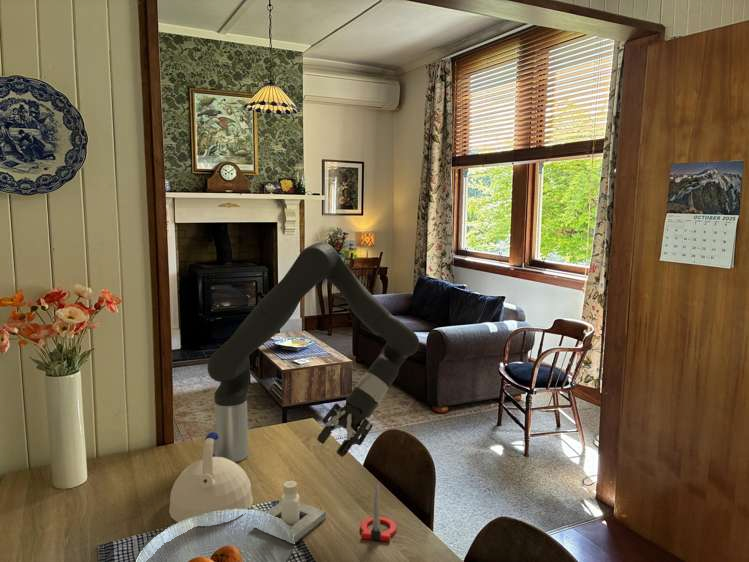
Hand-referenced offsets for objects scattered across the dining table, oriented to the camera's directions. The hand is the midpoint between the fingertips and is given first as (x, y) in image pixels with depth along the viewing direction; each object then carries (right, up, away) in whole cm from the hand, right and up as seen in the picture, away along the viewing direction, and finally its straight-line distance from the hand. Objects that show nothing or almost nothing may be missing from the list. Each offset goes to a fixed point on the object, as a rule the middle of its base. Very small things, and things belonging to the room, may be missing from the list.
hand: (329, 448), depth 140 cm
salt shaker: (-9, -16, -5) cm, 19 cm away
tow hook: (+12, -17, -7) cm, 22 cm away
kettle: (-30, -15, +3) cm, 33 cm away
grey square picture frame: (-9, -16, -5) cm, 19 cm away
